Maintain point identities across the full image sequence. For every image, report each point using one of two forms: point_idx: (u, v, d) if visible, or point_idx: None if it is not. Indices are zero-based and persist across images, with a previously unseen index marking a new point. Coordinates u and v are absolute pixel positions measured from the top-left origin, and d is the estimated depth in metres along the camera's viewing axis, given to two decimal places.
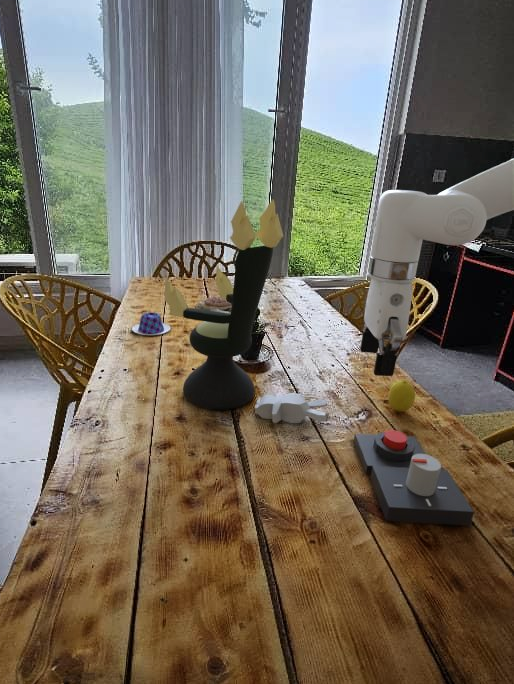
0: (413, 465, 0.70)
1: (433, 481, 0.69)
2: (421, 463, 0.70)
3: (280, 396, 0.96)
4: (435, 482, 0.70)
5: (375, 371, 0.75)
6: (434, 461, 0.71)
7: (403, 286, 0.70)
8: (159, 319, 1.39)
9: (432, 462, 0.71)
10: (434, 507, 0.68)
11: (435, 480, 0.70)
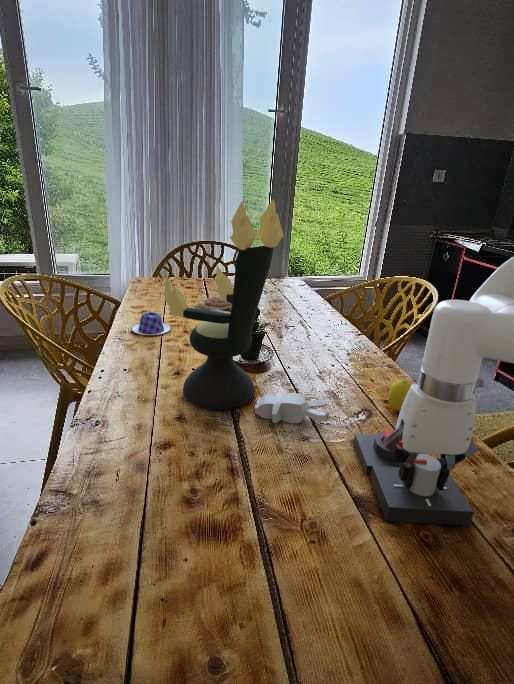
0: (413, 465, 0.70)
1: (433, 481, 0.69)
2: (421, 463, 0.70)
3: (280, 396, 0.96)
4: (435, 482, 0.70)
5: None
6: (434, 461, 0.71)
7: None
8: (159, 319, 1.39)
9: (432, 462, 0.71)
10: (434, 507, 0.68)
11: (435, 480, 0.70)
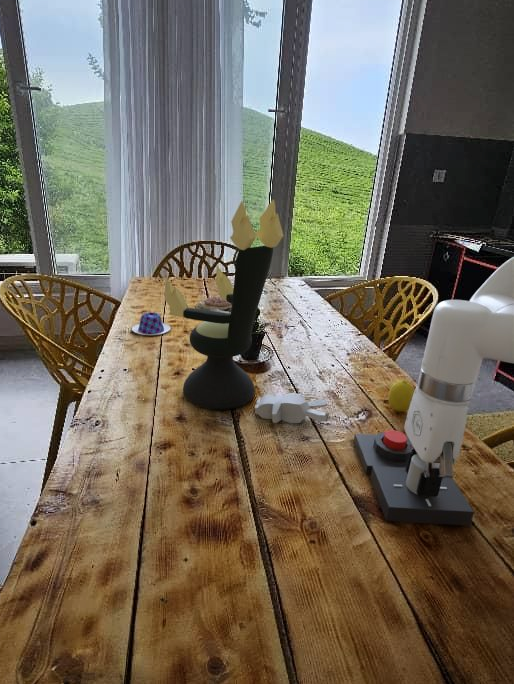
0: None
1: None
2: (432, 465, 0.70)
3: (280, 396, 0.96)
4: None
5: None
6: None
7: None
8: (159, 319, 1.39)
9: None
10: (434, 507, 0.68)
11: None
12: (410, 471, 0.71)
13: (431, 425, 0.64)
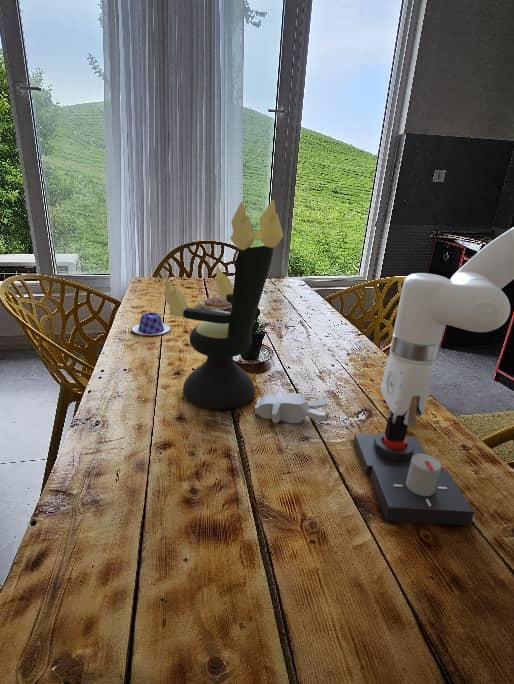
0: (433, 473, 0.69)
1: None
2: (432, 465, 0.70)
3: (280, 396, 0.96)
4: None
5: None
6: (421, 456, 0.72)
7: None
8: (159, 319, 1.39)
9: (424, 458, 0.71)
10: (434, 507, 0.68)
11: None
12: (410, 471, 0.71)
13: (401, 382, 0.73)
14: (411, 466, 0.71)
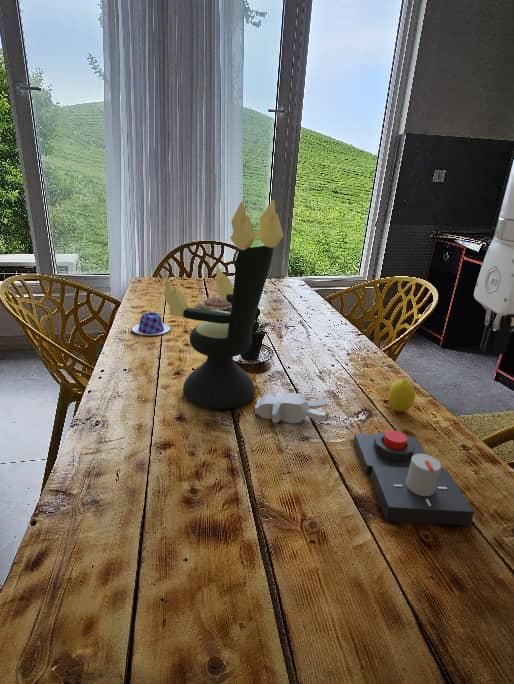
0: (433, 473, 0.69)
1: None
2: (432, 465, 0.70)
3: (280, 396, 0.96)
4: None
5: None
6: (421, 456, 0.72)
7: None
8: (159, 319, 1.39)
9: (424, 458, 0.71)
10: (434, 507, 0.68)
11: None
12: (410, 471, 0.71)
13: (513, 272, 0.61)
14: (411, 466, 0.71)
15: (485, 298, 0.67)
